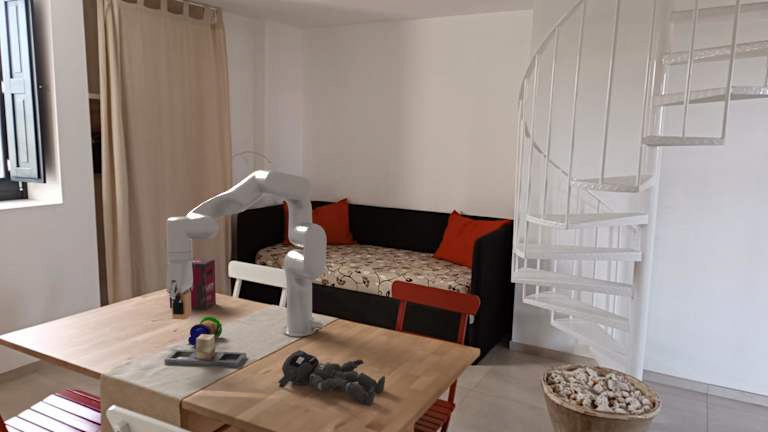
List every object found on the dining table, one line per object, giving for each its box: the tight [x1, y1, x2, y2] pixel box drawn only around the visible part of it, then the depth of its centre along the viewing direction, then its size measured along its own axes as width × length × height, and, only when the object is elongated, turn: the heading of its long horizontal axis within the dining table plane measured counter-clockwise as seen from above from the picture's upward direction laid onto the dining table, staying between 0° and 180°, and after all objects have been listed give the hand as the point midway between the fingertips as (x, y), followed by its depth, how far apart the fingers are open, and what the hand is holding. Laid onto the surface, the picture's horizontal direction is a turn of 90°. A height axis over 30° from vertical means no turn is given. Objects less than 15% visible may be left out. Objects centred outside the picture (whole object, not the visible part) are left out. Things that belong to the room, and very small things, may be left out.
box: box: [168, 258, 217, 311], centre depth 236 cm, size 16×9×20 cm, turn 81°
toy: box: [186, 316, 223, 346], centre depth 196 cm, size 12×9×15 cm
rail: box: [164, 349, 247, 368], centre depth 179 cm, size 24×8×3 cm, turn 86°
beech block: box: [195, 334, 216, 360], centre depth 178 cm, size 4×4×8 cm
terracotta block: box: [171, 291, 192, 320], centre depth 176 cm, size 4×4×8 cm
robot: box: [277, 349, 386, 407], centre depth 163 cm, size 17×10×30 cm
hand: (181, 311), depth 177 cm, fingers closed on terracotta block, 4 cm apart
